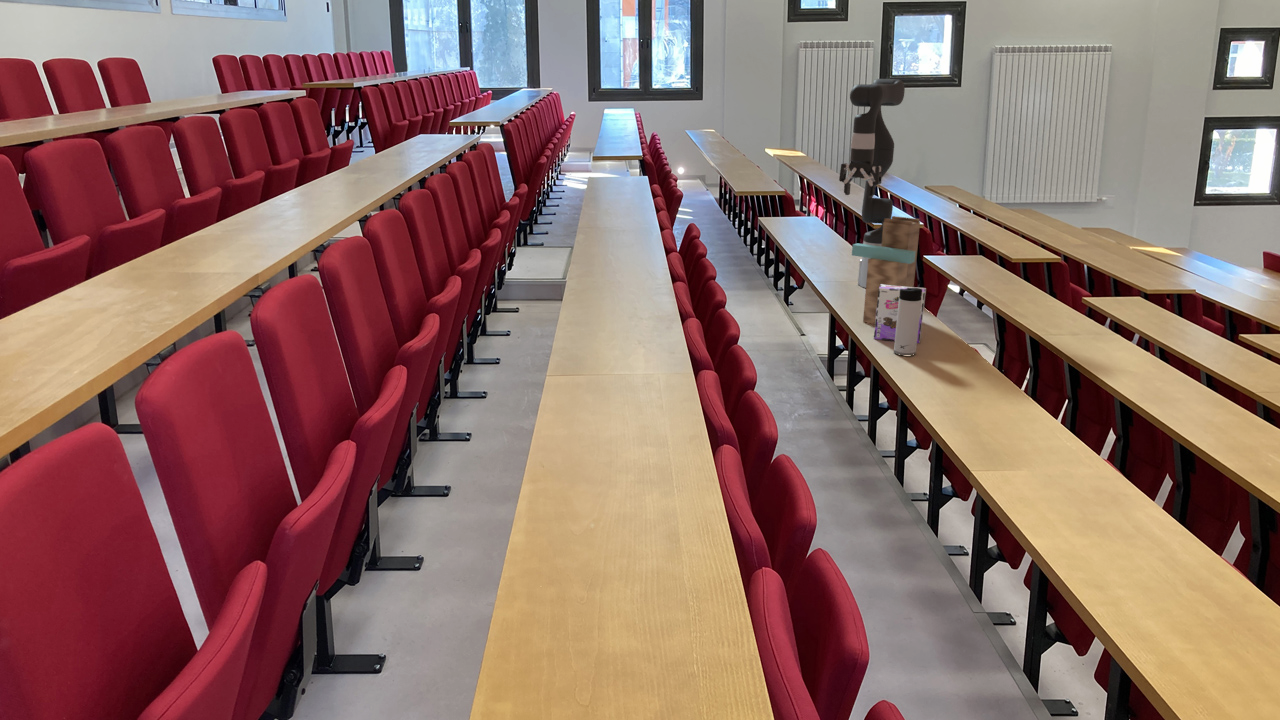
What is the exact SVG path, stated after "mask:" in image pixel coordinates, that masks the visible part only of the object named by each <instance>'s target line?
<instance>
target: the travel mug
mask: <svg viewBox="0 0 1280 720" xmlns="http://www.w3.org/2000/svg"><path fill="white" fill-rule="evenodd" d="M919 288H920V287H918V288H907V289H900V296H899V303H898V313H897V323H896V334H895V341H894V346H893V354H895V353H896V354H900V355H913V354H915V353H916V354H917V344H918V343H917V337H918V328H919V318H920V309H921V296H922V289H919ZM896 354H895V355H896ZM916 354H915V355H916Z"/></svg>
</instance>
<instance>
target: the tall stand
mask: <svg viewBox="0 0 1280 720" xmlns="http://www.w3.org/2000/svg"><path fill="white" fill-rule="evenodd" d="M920 220H921V219H920V218H913V217H906V216H905V217H904V216H895V215H892V217H891V219H887V218H886V219H884V222H883V234H882V245H881V247H889V248H896V249H903V250H911V251H916V252H915V262H913V263H911V264H908V267H907V277H906V287H915V285H914V284H915V278H916V265H917V257H918V245H919V239H920V238H919V235H920V228H921V227H920V225H921V222H920Z"/></svg>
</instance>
